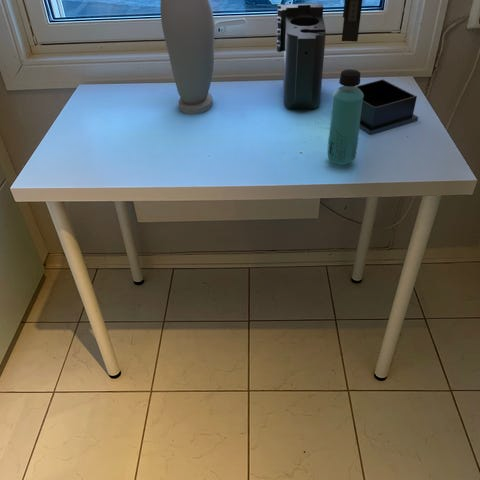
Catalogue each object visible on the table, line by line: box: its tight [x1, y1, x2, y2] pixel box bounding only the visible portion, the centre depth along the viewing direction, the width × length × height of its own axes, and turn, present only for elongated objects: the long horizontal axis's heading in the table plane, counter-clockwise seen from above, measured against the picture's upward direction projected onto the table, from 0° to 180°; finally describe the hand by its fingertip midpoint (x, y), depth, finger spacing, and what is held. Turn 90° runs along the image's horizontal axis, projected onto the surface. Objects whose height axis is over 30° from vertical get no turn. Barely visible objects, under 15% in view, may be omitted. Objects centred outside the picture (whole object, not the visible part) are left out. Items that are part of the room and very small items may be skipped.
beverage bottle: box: [327, 69, 364, 165], centre depth 111 cm, size 6×7×20 cm
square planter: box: [355, 78, 419, 136], centre depth 132 cm, size 15×15×6 cm
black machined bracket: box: [276, 3, 327, 110], centre depth 136 cm, size 12×21×22 cm, turn 177°
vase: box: [159, 0, 215, 115], centre depth 130 cm, size 13×13×35 cm
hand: (349, 28), depth 96 cm, fingers open, 13 cm apart
